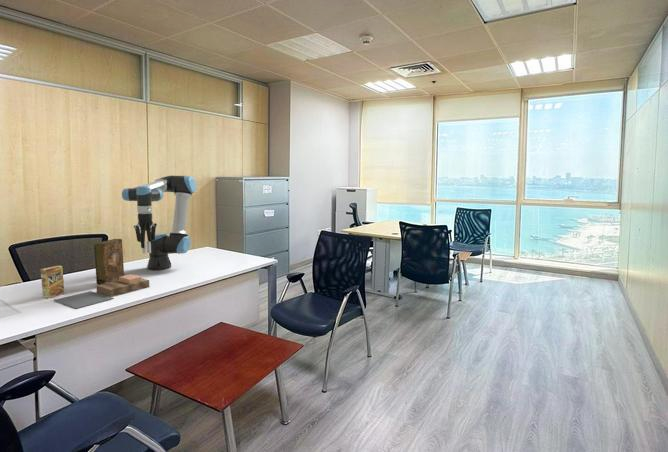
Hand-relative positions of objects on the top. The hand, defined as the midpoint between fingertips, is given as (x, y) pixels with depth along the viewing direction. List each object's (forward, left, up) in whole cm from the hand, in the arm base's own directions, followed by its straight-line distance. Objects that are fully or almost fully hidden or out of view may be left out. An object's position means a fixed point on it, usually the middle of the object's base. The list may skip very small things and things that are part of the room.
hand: (146, 252), depth 228 cm
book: (+11, -19, -19) cm, 29 cm away
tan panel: (+15, 0, -18) cm, 24 cm away
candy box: (+41, -20, -19) cm, 49 cm away
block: (+11, 0, -14) cm, 18 cm away
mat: (+36, 0, -18) cm, 40 cm away
